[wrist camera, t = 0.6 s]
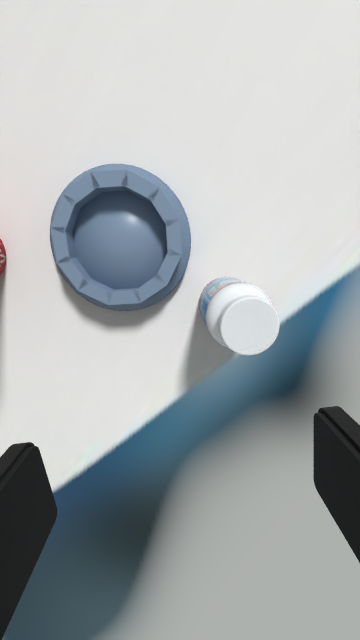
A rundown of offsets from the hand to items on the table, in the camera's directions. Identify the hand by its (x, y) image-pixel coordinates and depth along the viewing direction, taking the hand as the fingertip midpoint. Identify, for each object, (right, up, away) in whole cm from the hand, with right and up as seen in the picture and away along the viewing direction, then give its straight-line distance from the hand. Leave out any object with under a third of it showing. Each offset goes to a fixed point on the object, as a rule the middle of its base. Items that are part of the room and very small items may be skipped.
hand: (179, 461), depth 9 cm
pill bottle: (+5, +7, +22) cm, 24 cm away
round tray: (-6, +13, +20) cm, 25 cm away
